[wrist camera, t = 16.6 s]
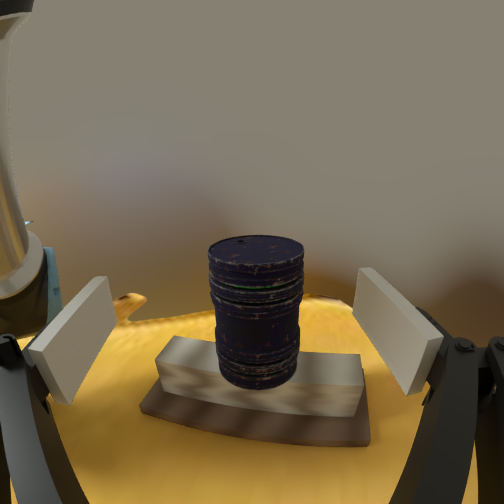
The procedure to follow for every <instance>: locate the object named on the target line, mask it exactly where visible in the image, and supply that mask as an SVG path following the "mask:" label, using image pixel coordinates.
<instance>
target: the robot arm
mask: <svg viewBox="0 0 504 504" xmlns="http://www.w3.org/2000/svg"><path fill="white" fill-rule="evenodd" d="M33 2H34V0H0V504H12V503H11V489H10V477H11V481H12V484H13V488H14V492H15V495H16V498H17V502H18V504H89V502H88V500H87V498H86V496H85V494H84V492H83V490H82V488H81V486H80V484H79V482H78V480H77V478H76V476H75V473H74V471H73V469H72V467H71V464H70V462H69V459H68V457H67V454H66V452H65V449H64V447H63V444H62V441H61V439H60V436H59V433H58V430H57V427H56V424H55V421H54V418H53V414H52V411H51V408H50V404H49V402H48V401H47V399H46V397H47V396H48V394H49V392H50V394H51V396H52V397H53V399H54V401H55V402H56V403H60V404H64V405H68V406H70V404H71V402H72V400H73V398H74V396H75V395H76V393H77V391H78V389H79V387H80V385H81V383H82V382H83V380H84V378H85V376H86V374H87V373H88V371H89V369H90V367H91V366H92V364H93V362H94V360H95V359H96V357H97V355H98V353H99V352H100V350H101V348H102V347H103V345H104V343H105V342H106V340H107V338H108V337H109V335H110V333H111V332H112V330H113V328H114V327H115V325H116V323H117V322H118V321H117V317H116V313H115V309H114V305H113V301H112V297H111V292H110V288H109V283H108V278H107V277H94V278H93V279H92V280H91V281H90V282H89V283H88V284H87V285H86V286H85V287H84V288H83V289H82V290H81V291H80V292H79V293H78V294H77V295H76V296H75V297H74V298H73V299H72V300H71V301H70V303H69V304H68V305H67V306H66V307H65V308H64V309H63V303H62V298H61V293H60V286H59V279H58V272H57V264H56V257H55V251H54V249H53V248H51V247H42V244H41V242H40V240H39V238H38V237H37V236H36V235H35V234H34V233H32V232H30V231H28V230H26V226H25V222H24V218H23V214H22V209H21V205H20V200H19V195H18V190H17V185H16V179H15V173H14V166H13V159H12V150H11V140H10V127H9V93H8V92H9V66H10V54H11V45H12V37H13V35H14V33H15V32H16V30H17V29H18V28H19V27H20V26H21V25H22V24H23V23H24V22H25V21H26V20H27V19H28V18H29V16H31V12H32V7H33ZM352 314H353V316H354V317H355V319H356V320H357V322H358V323H359V324H360V326H361V327H362V329H363V330H364V332H365V333H366V335H367V336H368V338H369V339H370V341H371V342H372V344H373V345H374V347H375V348H376V350H377V351H378V353H379V354H380V356H381V357H382V359H383V360H384V362H385V363H386V365H387V367H388V368H389V370H390V371H391V373H392V374H393V376H394V377H395V379H396V381H397V382H398V384H399V385H400V387H401V388H402V390H403V392H404V393H405V395H406V396H408V395H411V394H414V393H418V392H421V391H422V389H423V386H424V384H425V382H426V380H427V382H428V383H429V385H430V386H431V387H430V389H429V391H428V393H427V395H426V397H425V399H424V401H423V403H422V406H424V409H423V413H422V416H421V420H420V423H419V427H418V430H417V433H416V436H415V439H414V442H413V445H412V448H411V451H410V454H409V457H408V459H407V462H406V465H405V467H404V470H403V472H402V475H401V477H400V480H399V482H398V484H397V487H396V489H395V491H394V493H393V495H392V498H391V500H390V502H389V504H461V503H462V500H463V496H464V492H465V488H466V484H467V479H468V475H469V470H470V465H471V459H472V453H473V446H474V439H475V448H476V458H477V472H478V504H504V337H498V336H497V337H493V338H491V339H490V341H489V344H488V346H487V347H485V348H477V347H476V346H475V344H474V343H473V342H471V341H470V340H468V339H465V338H459V337H458V338H453V337H452V336H451V335H450V334H449V333H448V332H447V331H445V329H444V328H443V327H442V326H441V325H440V324H438V323H437V322H436V321H435V320H434V319H433V318H432V317H431V316H430V315H429V314H428V313H427V312H425V311H424V310H422V309H420V308H418V307H414V306H413V305H412V304H411V303H409V302H408V301H407V300H406V299H405V298H404V297H403V296H402V295H401V294H400V293H399V292H398V291H397V290H396V289H395V288H394V287H393V286H391V285H390V284H389V283H388V282H387V281H386V280H385V279H384V278H383V277H381V276H380V275H379V274H378V273H377V272H376V271H375V270H374V269H373V268H359V271H358V279H357V287H356V293H355V300H354V307H353V312H352ZM31 336H35V337H34V338H33V339H32V340H31V341H30V342H29V343H28V344H27V346H26V347H25V348H24V349H23V350H22V351H21V349H20V347H19V345H18V342H17V340H18V339H22V338H27V337H31ZM495 386H496V392H495V389H494V388H495ZM424 404H425V405H424Z"/></svg>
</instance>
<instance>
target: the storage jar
mask: <svg viewBox="0 0 504 504" xmlns="http://www.w3.org/2000/svg"><path fill="white" fill-rule="evenodd" d="M208 258H209V261H210V262H209V271H210V272H209V283H210V287H211V292H210V295H211V298H212V302H213V304H214V306H215V316H216V327H215V338H216V342H215V345H216V353H217V356H218V361H219V370H220V373H221V375H222V376H223V377H224V379H226V380H227V381H228V382H229V383H231V384H232V385H234V386H237V387H239V388H242V389H247V390H268V389H272V388H276V387H278V386H280V385H283V384H284V383H286V382H287V381H288V380H290V379H291V378H292V376H293V375H294V374H295V372H296V368H297V358H298V354H299V348H300V327H299V324H298V320H299V305H300V303H301V301H302V296H303V284H304V271H303V267H304V262H303V258H304V247H303V245H302V244H301V243H299V242H297V241H295V240H292V239H289V238H285V237H280V236H271V235H248V236H247V235H246V236H237V237H232V238H227V239H223V240H220V241H218V242H215V243H214V244H212V245H211V246H210V247H209V248H208Z"/></svg>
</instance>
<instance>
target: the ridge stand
mask: <svg viewBox="0 0 504 504" xmlns="http://www.w3.org/2000/svg"><path fill="white" fill-rule="evenodd" d="M155 363H156V366H157V370H158V373H159V379H158V380H157V381H156V383H155V384H154V386H153V387H152V388H151V390H150V391H149V392H148V394H147V395H146V397H145V398H144V399H143V401H142V402H141V404H140V405H139V407H140V409H141V412H142V413H145V414H148V415H151V416H154V417H157V418H161V419H164V420H167V421H171V422H174V423H178V424H181V425H185V426H189V427H193V428H197V429H201V430H205V431H210V432H214V433H219V434H224V435H229V436H234V437H240V438H246V439H252V440H259V441H266V442H274V443H283V444H293V445H306V446H325V447H367V446H368V444H369V442H370V427H369V415H368V405H367V396H366V387H365V379H364V372H363V369H362V365H361V358H360V354H336V353H316V352H301V351H299V354H298V358H297V368H296V372H295V374H294V375H293V376H292V378H291V379H290V380H288V381H287V382H286V383H284V384H283V385H280V386H278V387H276V388H272V389H268V390H247V389H242V388H239V387H237V386H234V385H232V384H231V383H229V382H228V381H227V380H226V379H224V377H223V376H222V375H221V373H220V370H219V361H218V356H217V353H216V345H215V342H210V341H204V340H197V339H191V338H185V337H180V336H173V337H172V339H171V340H170V341H169V342H168V344H167V345H166V346H165V347H164V349H163V350H162V351H161V352H160V354H159V355H158V356H157V357H156V359H155Z"/></svg>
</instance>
